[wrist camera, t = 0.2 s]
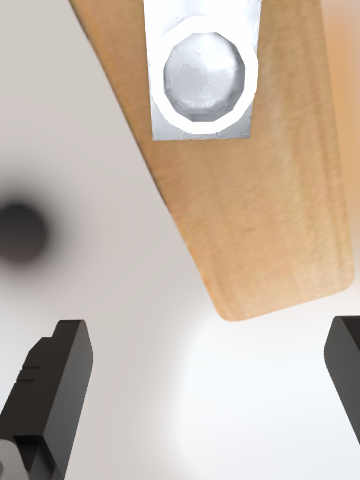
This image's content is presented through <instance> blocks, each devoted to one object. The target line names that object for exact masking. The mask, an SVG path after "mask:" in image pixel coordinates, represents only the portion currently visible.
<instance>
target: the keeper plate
mask: <svg viewBox="0 0 360 480" xmlns="http://www.w3.org/2000/svg"><path fill="white" fill-rule="evenodd" d="M260 11H261V0H144V13H145V28H146V43H147V58H148V73H149V89H150V104H151V119H152V134H153V140H188V139H229V138H250V126H251V115H252V103H253V97H254V96H255V95H254V94H253V93H256V84H257V73H258V64H257V63H256V62H258V61H257V58H256V57H257V45H258V34H259V22H260Z"/></svg>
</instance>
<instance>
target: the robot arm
mask: <svg viewBox="0 0 360 480" xmlns="http://www.w3.org/2000/svg"><path fill="white" fill-rule="evenodd" d="M324 358H325V363H326V366H327V369H328V371H329V374H330V376H331V378H332V381H333V383H334V385H335V388H336V390H337V392H338V395H339V397H340V399H341V402H342V404H343V406H344V408H345V411H346V413H347V416H348V418H349V421H350V423H351V425H352V427H353V430H354V432H355V434H356V437H357V439H358V442H359V444H360V316H335V317H334V319H333V321H332V325H331V328H330V331H329V334H328V337H327V340H326V343H325V347H324ZM92 364H93V352H92V346H91V342H90V338H89V335H88V330H87V326H86V323H85V321H84V320H60V321H59V322H58V323H57V325H56V328H55V331H54V333H53V335H52V337H42V338H41V339H40V340H39V341H38V342H37V343H36V344H35V345H34V347H33V348H32V349H31V350H30V351H29V353H28V355H27V357H26V360H25V362H24V364H23V366H22V370H20V373H19V375H18V377H17V379H16V380H17V381H16V383H15V384H14V386H13V388H12V390H11V392H10V395H9V397H8V399H7V401H6V403H5V406H4V408H3V410H2V412H1V414H0V480H64V478H65V473H66V470H67V466H68V461H69V458H70V454H71V450H72V446H73V442H74V438H75V434H76V430H77V426H78V422H79V418H80V414H81V410H82V406H83V402H84V398H85V394H86V390H87V386H88V382H89V378H90V374H91V370H92Z"/></svg>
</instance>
